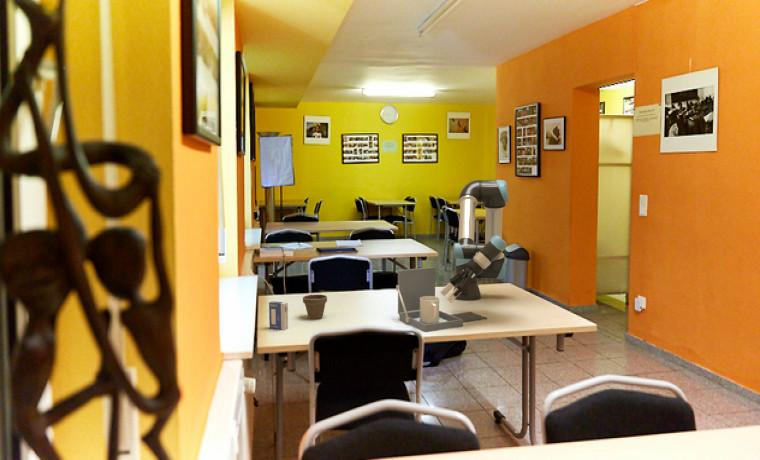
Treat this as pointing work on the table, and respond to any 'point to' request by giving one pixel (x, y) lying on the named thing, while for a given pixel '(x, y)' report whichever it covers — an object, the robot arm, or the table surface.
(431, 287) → the equipment case
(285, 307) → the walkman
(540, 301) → the table surface
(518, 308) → the table surface
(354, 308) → the table surface
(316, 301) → the flower pot
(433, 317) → the mug
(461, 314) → the rubber mat
